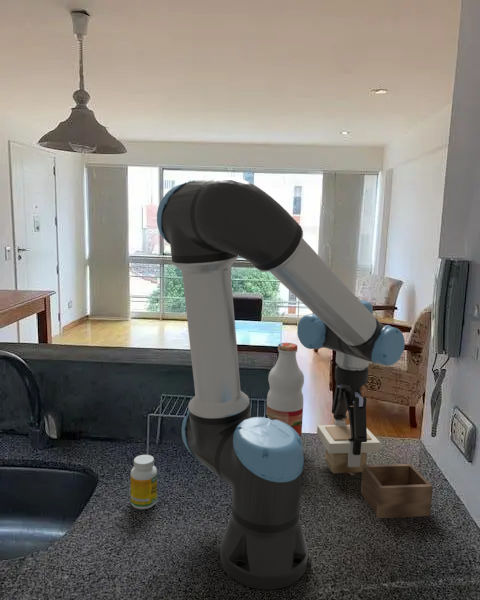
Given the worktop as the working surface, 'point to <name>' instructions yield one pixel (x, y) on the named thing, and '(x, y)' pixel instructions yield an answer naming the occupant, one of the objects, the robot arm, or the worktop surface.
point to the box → (396, 490)
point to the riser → (343, 462)
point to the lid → (344, 439)
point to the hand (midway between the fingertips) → (345, 454)
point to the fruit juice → (286, 389)
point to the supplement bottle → (143, 482)
